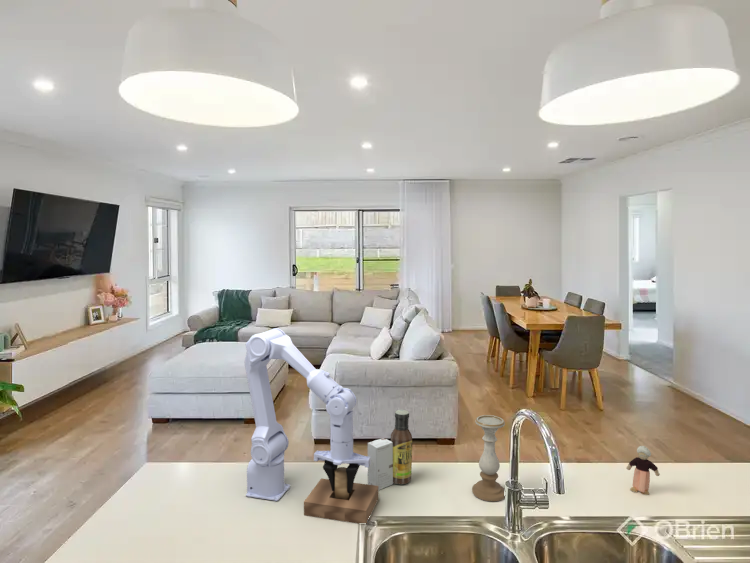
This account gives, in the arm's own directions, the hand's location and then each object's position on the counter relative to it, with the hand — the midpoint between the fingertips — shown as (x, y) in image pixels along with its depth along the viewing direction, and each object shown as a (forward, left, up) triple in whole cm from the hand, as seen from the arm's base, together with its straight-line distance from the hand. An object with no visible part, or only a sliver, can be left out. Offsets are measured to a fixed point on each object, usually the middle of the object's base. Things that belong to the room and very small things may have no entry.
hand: (342, 490), depth 121 cm
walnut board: (0, 0, -4) cm, 4 cm away
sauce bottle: (+12, +17, -5) cm, 21 cm away
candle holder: (+36, +16, -5) cm, 40 cm away
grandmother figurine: (+76, +27, -5) cm, 81 cm away
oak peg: (0, 0, -3) cm, 3 cm away
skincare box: (+7, +13, -5) cm, 16 cm away
